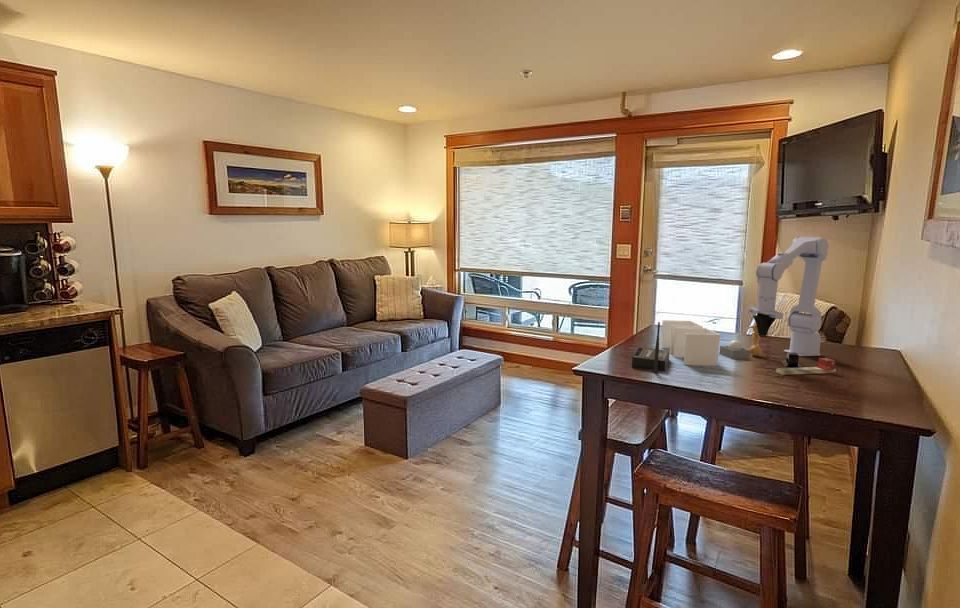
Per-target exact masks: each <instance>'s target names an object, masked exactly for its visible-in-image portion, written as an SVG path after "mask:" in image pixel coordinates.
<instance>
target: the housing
mask: <svg viewBox="0 0 960 608" xmlns="http://www.w3.org/2000/svg"><path fill="white" fill-rule="evenodd" d="M750 351H751V350H750V348H746V347H743V346H742V350H732V349H730V348H728V345H719V351H718V355H722V356H725V357H727V358H730V359H734V360H735V359H750V358H751V353H750Z"/></svg>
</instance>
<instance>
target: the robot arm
mask: <svg viewBox="0 0 960 608" xmlns="http://www.w3.org/2000/svg"><path fill="white" fill-rule="evenodd" d="M791 241H792V243H791V246H790V247H789V248H788V249H787V250H785V251H779V252H777V253H776V255H774V256H773V257H772V258H771V259H770V260H768V261H767V262H762V263H760V264H759V265H757V268H756V270H755V275H756V279H757V280H756V282H757V284H758V286H757V287H758V288H757V293H756V294H757V296H756V297H757V298H756V306H747V313H753V314H755V315H753V318H752V319H753V320H754V322H755V324H756V325H757V329H758V335H759V336H760V337H767V333H769V330H770V329H771V326H772V325H773V323H774V322H775V321H776V320H784V313H782V312H779V311H777V310H776V303H777V294H778V293H777V292H778V285H779V284H778V283H779V280H781V279H782V278H783V274H784V273H785V271H786V270H787V269H788V268H789V267H791V265H793V261H794V259H796V258H797V257H798V258H799V259H800V260H803V262H804V263H805V264H804V269H803V275H802V280H801V281H802V282H801V286H800V293H799V298H798V304H796V305H794V306H792V307H791V308H790V311H789V314H788V316H787V318H786V323H787V326H788V327H789V330H791V334H790V335H791V336H790V342H789V349H784V350H783V352H785V353H787V352H794V353H797V354H798V355H799V357H811V356H812V357H813V356H814V357H816V356H819V357H820V356H821V355H822V354H821V353H820V351H821V350H820V348H821V342H822V337H821V334H820V333H819V332H818V331H820V329H821V326H822V323H823V321H822V311H821V310H820V309H818V308H817V307H816V306H815V303H816V297H817V291H818V286H819V282H820V281H819V280H820V275H821V270H822V263H823V262H824V261H826V260H827V256H828V253H829V252H828V250H829V242H828V239H827V238H826V237H824V236H821V237H819V236H818V237H817V236H816V237H815V236H796V237H795V238H794V239H792V240H791Z"/></svg>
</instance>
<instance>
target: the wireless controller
mask: <svg viewBox="0 0 960 608" xmlns="http://www.w3.org/2000/svg"><path fill="white" fill-rule="evenodd" d="M660 328H661V323H660V321H658V322H657V333H656V340H655V346H654V348H650V347H644V346H643V347H642V346H641V347H640V346H639V347H638V349H637V351H636V352H635V353H634V355H633V356H632V360H631V368H636V369H644V370H651V371H652V372H653V374H658V371H659V372H666V370H667V365H668V363H669V361H670V354H669V353H670V349H669V350H667V349H661V348H660Z"/></svg>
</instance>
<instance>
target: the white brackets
mask: <svg viewBox="0 0 960 608" xmlns="http://www.w3.org/2000/svg"><path fill="white" fill-rule="evenodd" d="M661 324H662V325H661V337H660V349H663V348H664V349H667V348H668V349H669V351H670V353H669V355H671V356H672V355H673V358H683V365H685V366H712V367H713V366H718V360H719V352H720V339H721V335H720V334H719V333H717V332H715V331H713V330H711V329H708V328H706V327H703V326H702V325H700V324H699V323H696V322H695V321H692V320H662V323H661Z"/></svg>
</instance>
